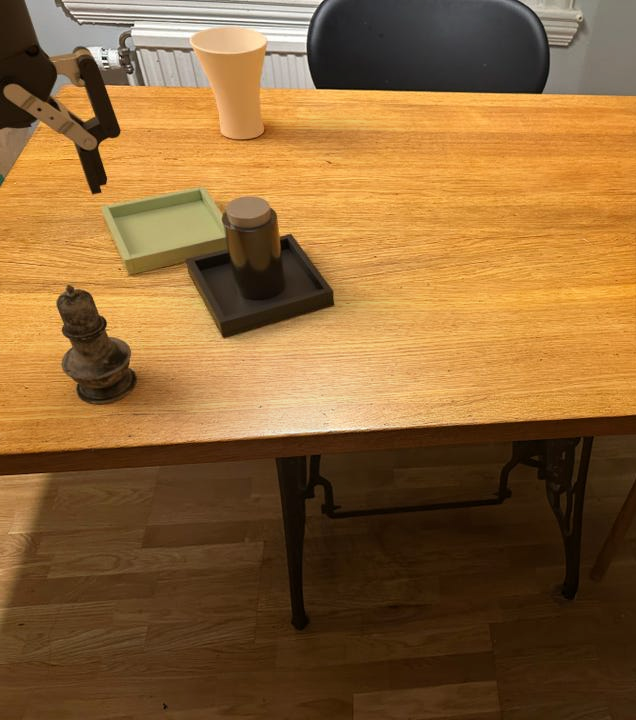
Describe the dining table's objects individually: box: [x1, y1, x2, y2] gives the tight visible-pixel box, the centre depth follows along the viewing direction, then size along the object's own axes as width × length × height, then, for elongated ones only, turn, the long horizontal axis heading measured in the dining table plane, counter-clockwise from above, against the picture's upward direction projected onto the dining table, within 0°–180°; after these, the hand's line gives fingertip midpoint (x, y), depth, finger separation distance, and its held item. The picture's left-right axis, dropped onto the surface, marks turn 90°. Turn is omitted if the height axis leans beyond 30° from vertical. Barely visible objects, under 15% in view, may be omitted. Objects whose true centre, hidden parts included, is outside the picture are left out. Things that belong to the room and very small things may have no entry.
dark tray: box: [185, 233, 335, 338], centre depth 79 cm, size 13×13×2 cm
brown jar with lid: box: [222, 195, 285, 300], centre depth 76 cm, size 6×6×10 cm
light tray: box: [100, 185, 227, 276], centre depth 85 cm, size 13×13×2 cm
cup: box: [189, 26, 268, 140], centre depth 103 cm, size 10×10×14 cm
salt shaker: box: [55, 284, 138, 405], centre depth 63 cm, size 6×6×12 cm
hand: (35, 200), depth 53 cm, fingers open, 8 cm apart
